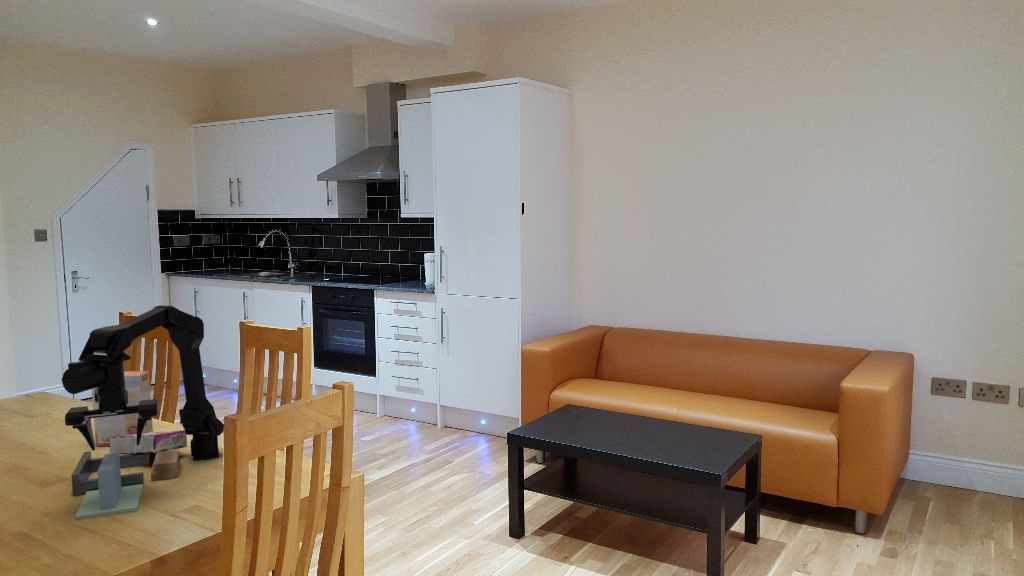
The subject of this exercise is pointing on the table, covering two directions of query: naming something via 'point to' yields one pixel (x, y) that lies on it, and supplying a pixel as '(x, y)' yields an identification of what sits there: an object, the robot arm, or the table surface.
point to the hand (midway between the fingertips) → (116, 447)
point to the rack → (91, 465)
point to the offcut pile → (165, 465)
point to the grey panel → (109, 481)
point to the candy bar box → (148, 442)
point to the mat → (125, 504)
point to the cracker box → (126, 423)
